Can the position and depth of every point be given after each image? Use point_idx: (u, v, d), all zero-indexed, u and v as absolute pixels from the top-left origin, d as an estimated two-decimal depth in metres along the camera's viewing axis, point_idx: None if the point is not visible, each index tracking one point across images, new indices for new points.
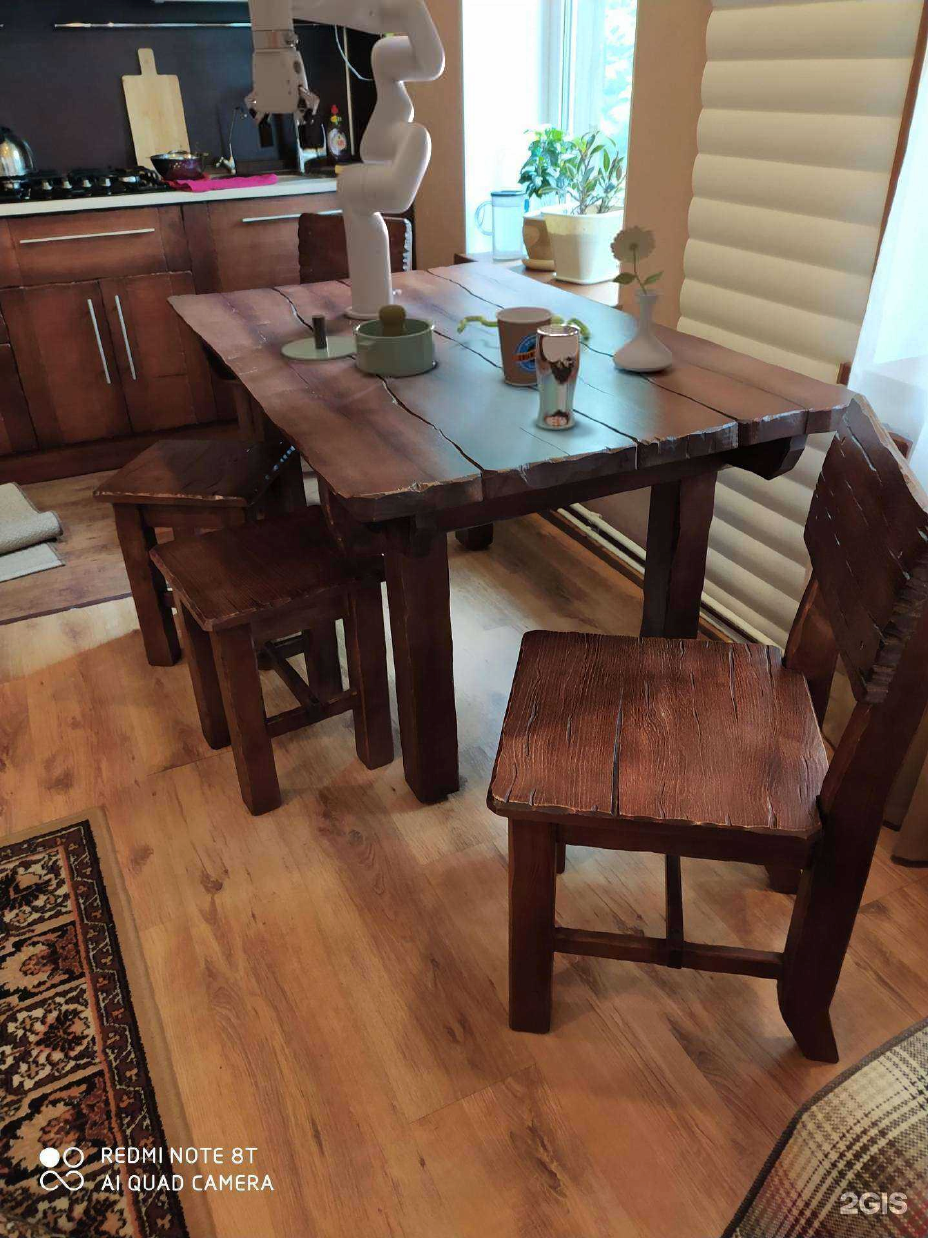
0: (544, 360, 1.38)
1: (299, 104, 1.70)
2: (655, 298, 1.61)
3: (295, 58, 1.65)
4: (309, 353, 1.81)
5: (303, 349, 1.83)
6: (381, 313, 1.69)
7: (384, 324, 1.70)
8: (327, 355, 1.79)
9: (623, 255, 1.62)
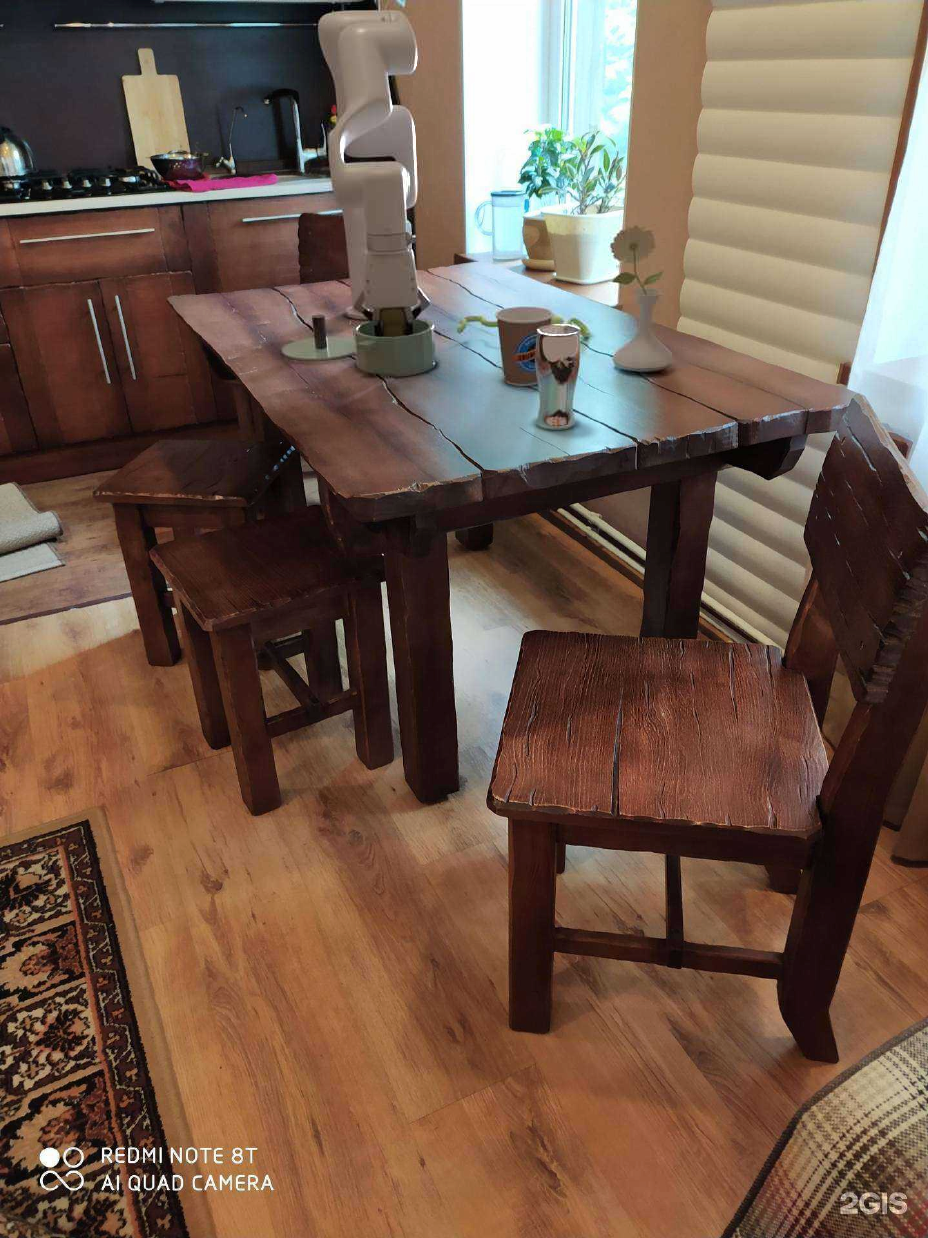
0: (544, 360, 1.38)
1: None
2: (655, 298, 1.61)
3: (413, 256, 1.66)
4: (309, 353, 1.81)
5: (303, 349, 1.83)
6: (381, 313, 1.69)
7: (384, 324, 1.70)
8: (327, 355, 1.79)
9: (623, 255, 1.62)
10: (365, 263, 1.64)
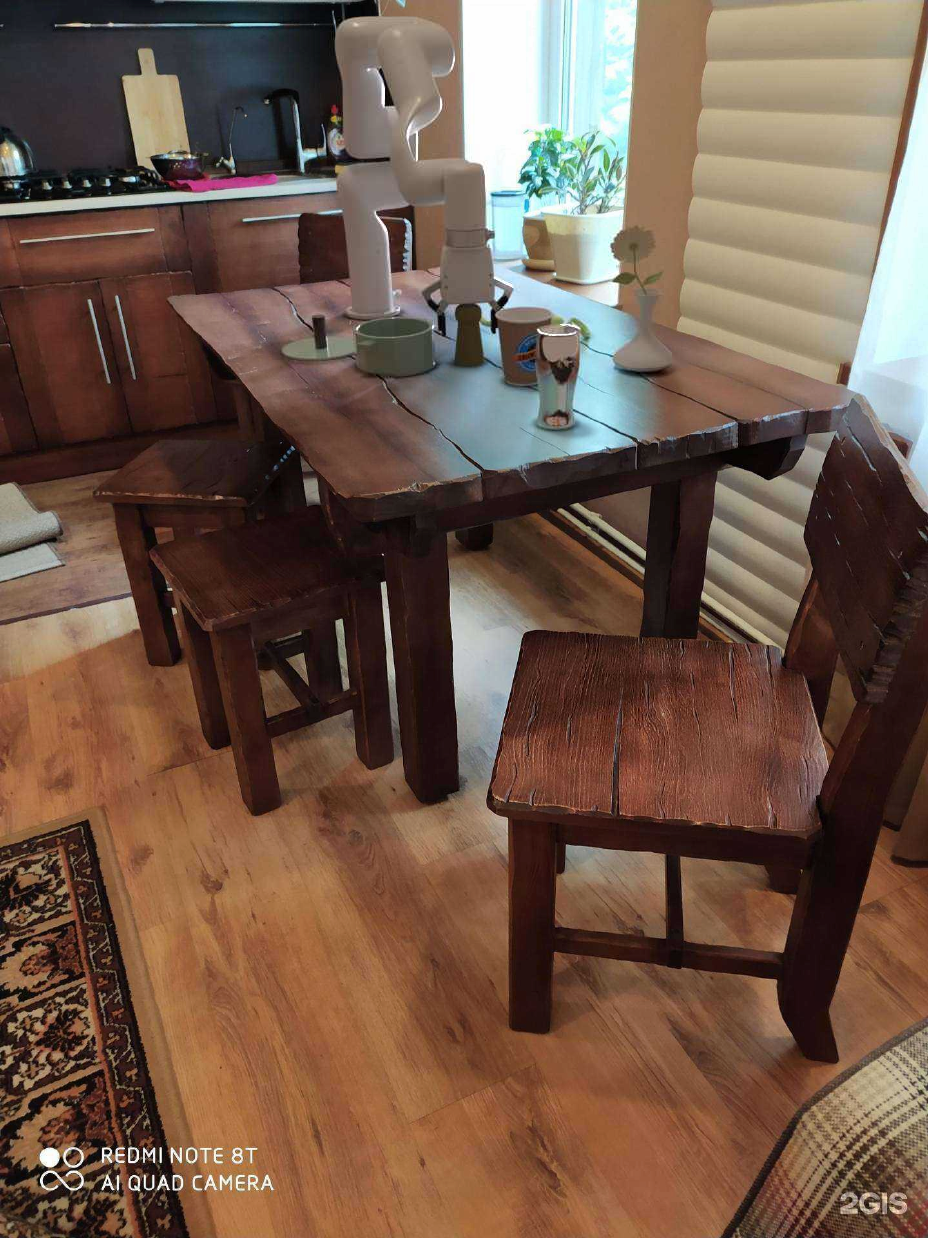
0: (544, 360, 1.38)
1: None
2: (655, 298, 1.61)
3: (491, 252, 1.66)
4: (309, 353, 1.81)
5: (303, 349, 1.83)
6: (458, 311, 1.70)
7: (460, 322, 1.71)
8: (327, 355, 1.79)
9: (623, 255, 1.62)
10: (444, 259, 1.64)
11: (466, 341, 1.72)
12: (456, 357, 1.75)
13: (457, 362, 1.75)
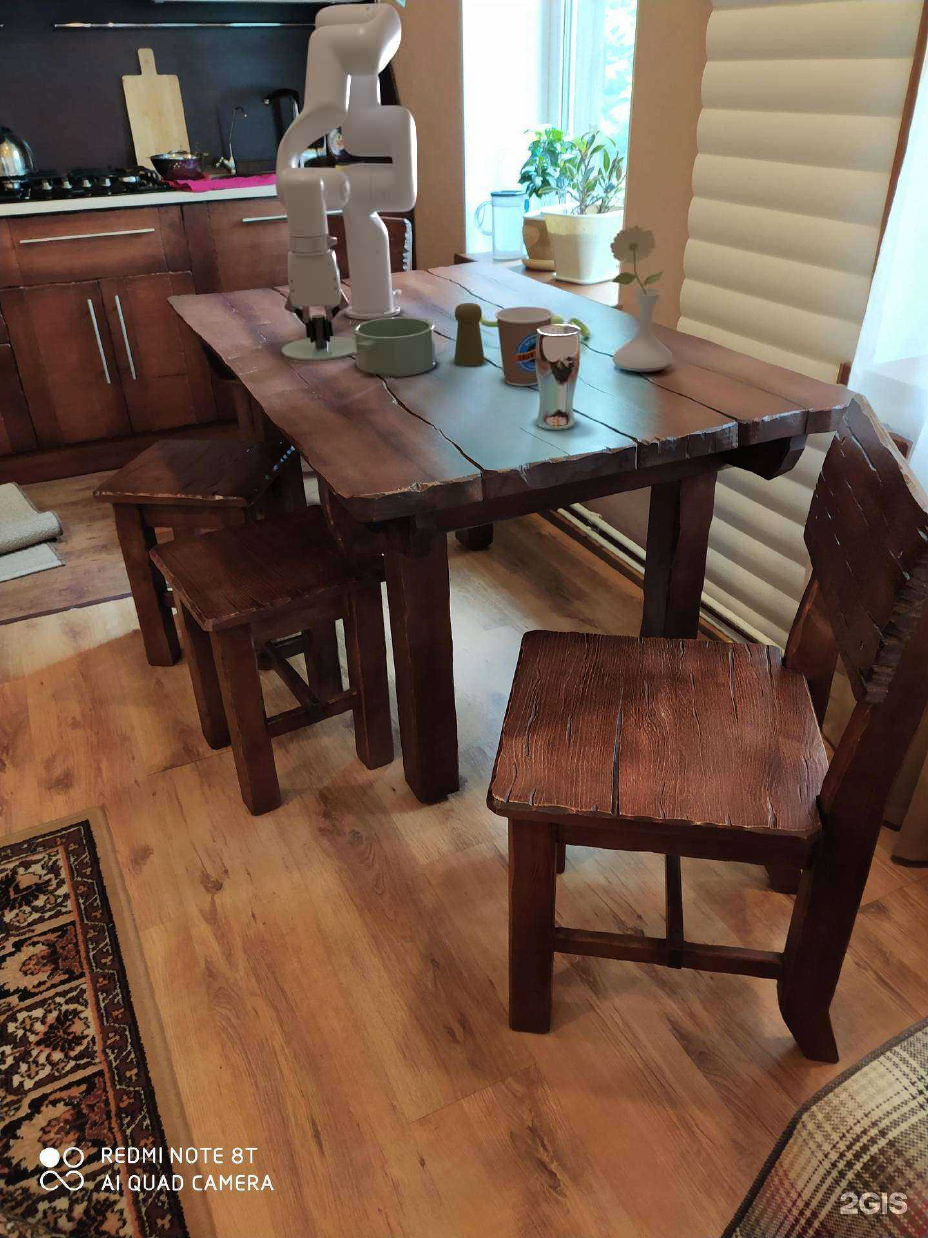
0: (544, 360, 1.38)
1: None
2: (655, 298, 1.61)
3: (335, 257, 1.75)
4: (309, 353, 1.81)
5: (303, 349, 1.83)
6: (458, 311, 1.70)
7: (460, 322, 1.71)
8: (327, 355, 1.79)
9: (623, 255, 1.62)
10: (289, 264, 1.74)
11: (466, 341, 1.72)
12: (456, 357, 1.75)
13: (457, 362, 1.75)
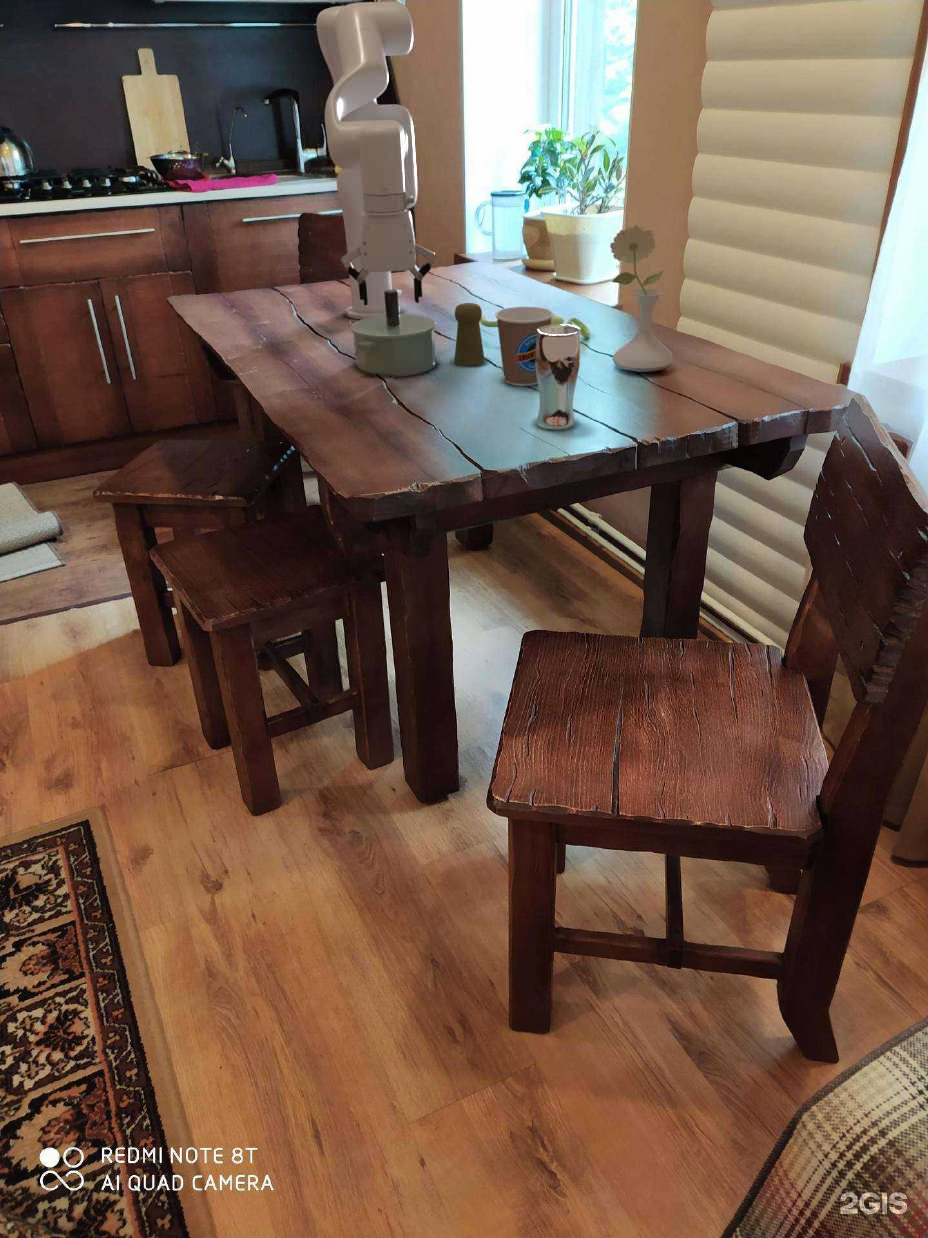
0: (544, 360, 1.38)
1: None
2: (655, 298, 1.61)
3: (411, 218, 1.62)
4: (381, 331, 1.68)
5: (374, 327, 1.71)
6: (458, 311, 1.70)
7: (460, 322, 1.71)
8: (401, 332, 1.66)
9: (623, 255, 1.62)
10: (362, 224, 1.61)
11: (466, 341, 1.72)
12: (456, 357, 1.75)
13: (457, 362, 1.75)
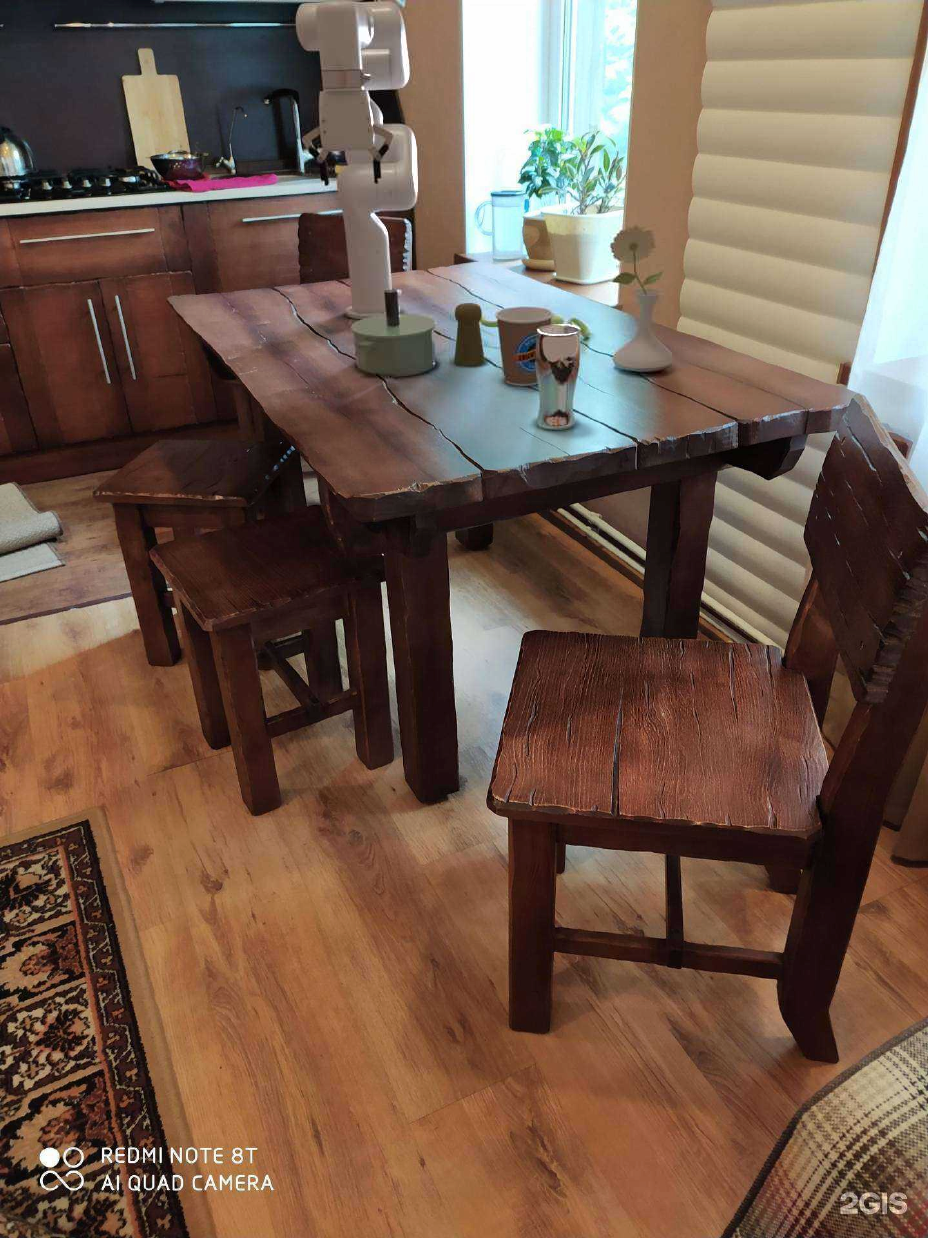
0: (544, 360, 1.38)
1: None
2: (655, 298, 1.61)
3: (369, 97, 1.68)
4: (381, 331, 1.68)
5: (374, 327, 1.71)
6: (458, 311, 1.70)
7: (460, 322, 1.71)
8: (401, 332, 1.66)
9: (623, 255, 1.62)
10: (321, 102, 1.66)
11: (466, 341, 1.72)
12: (456, 357, 1.75)
13: (457, 362, 1.75)
